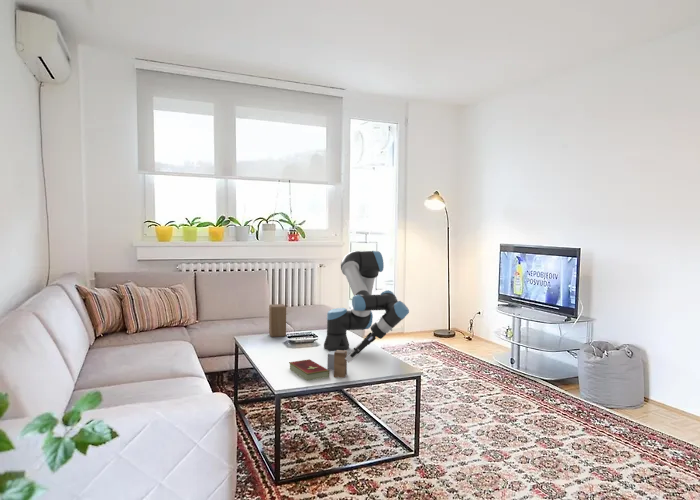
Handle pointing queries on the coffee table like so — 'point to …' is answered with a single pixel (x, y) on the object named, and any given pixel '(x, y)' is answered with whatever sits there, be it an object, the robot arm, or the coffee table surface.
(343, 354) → the walnut block
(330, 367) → the grey block
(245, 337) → the coffee table surface
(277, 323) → the block
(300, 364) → the hardcover book
